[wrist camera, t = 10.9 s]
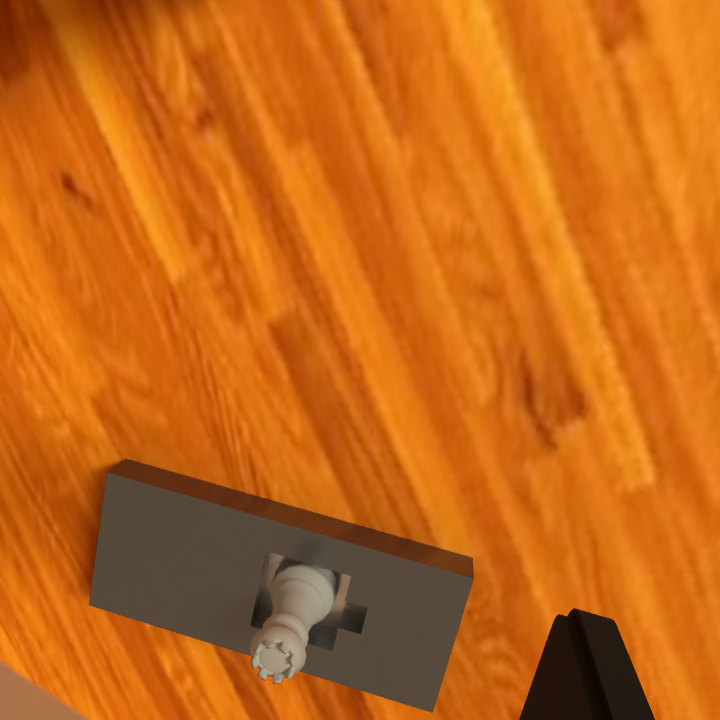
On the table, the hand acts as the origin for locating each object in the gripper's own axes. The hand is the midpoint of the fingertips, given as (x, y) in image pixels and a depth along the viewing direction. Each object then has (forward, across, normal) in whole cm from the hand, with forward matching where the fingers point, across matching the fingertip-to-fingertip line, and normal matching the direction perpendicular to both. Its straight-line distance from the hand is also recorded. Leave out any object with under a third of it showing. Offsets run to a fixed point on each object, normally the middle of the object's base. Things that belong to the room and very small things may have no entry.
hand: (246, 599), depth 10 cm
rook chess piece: (+28, +2, +18) cm, 34 cm away
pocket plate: (+28, +4, +18) cm, 34 cm away
